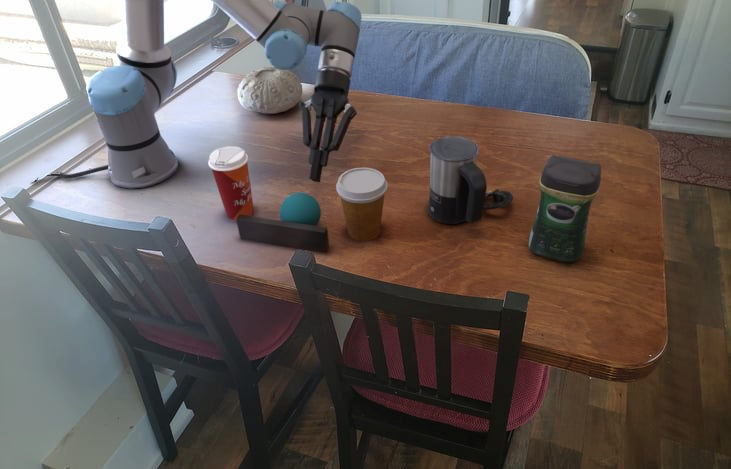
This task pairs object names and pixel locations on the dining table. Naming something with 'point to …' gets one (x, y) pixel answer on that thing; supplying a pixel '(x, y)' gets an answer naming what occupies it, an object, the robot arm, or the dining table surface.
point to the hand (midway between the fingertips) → (314, 180)
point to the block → (283, 233)
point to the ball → (300, 209)
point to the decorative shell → (269, 90)
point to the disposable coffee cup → (362, 201)
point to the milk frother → (459, 183)
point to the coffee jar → (564, 208)
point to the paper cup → (232, 180)
